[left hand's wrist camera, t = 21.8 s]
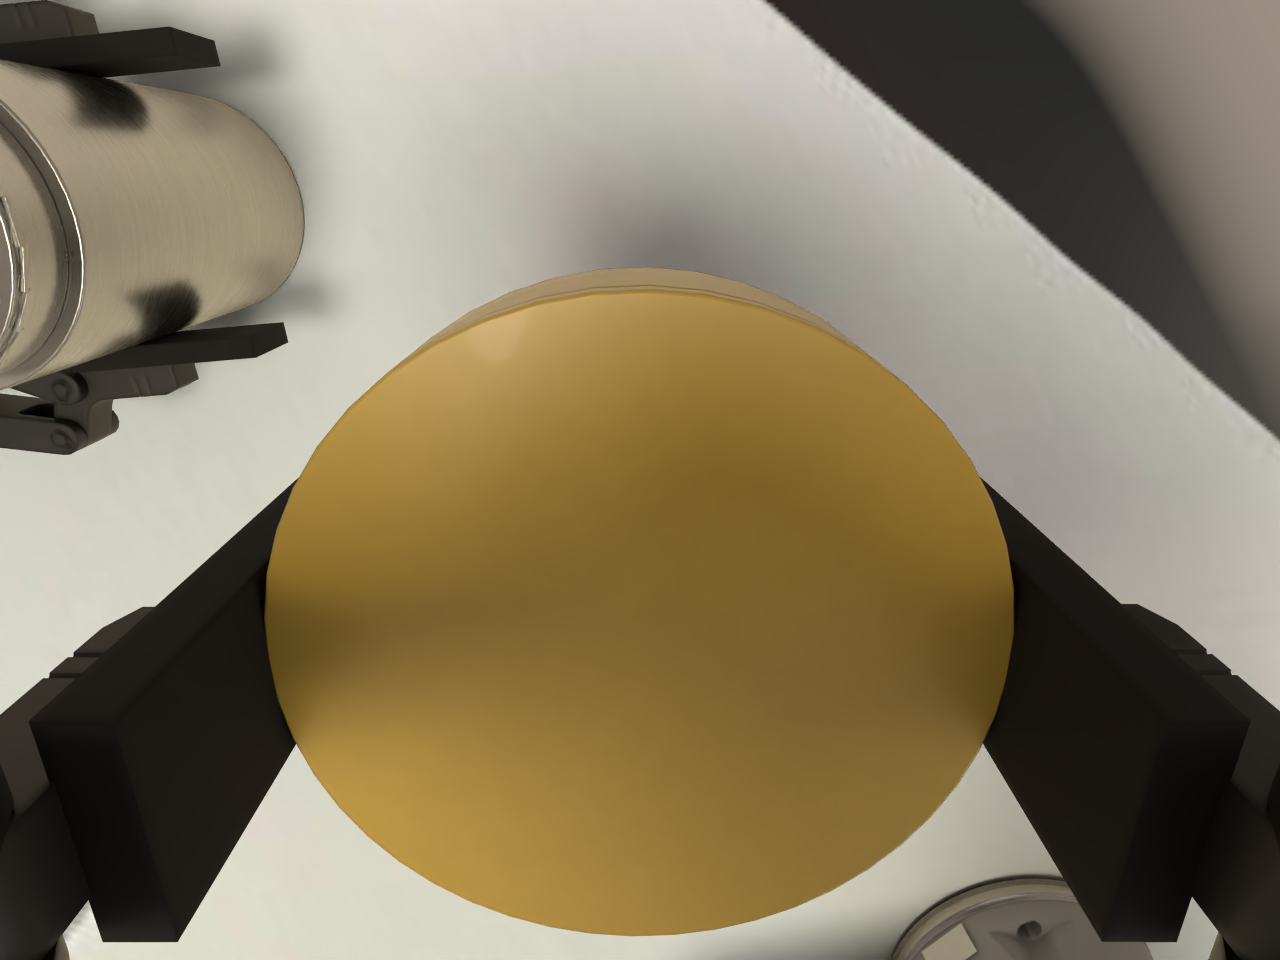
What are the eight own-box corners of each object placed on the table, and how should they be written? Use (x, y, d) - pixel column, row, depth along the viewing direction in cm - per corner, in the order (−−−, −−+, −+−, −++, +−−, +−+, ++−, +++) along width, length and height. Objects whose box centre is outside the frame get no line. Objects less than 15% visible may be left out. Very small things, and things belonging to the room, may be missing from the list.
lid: (1005, 275, 10) (1093, 298, 8) (904, 829, 14) (949, 941, 12) (285, 258, 10) (200, 279, 8) (361, 820, 14) (313, 932, 12)
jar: (129, 317, 35) (-259, 426, 20) (65, 101, 32) (-450, 35, 17) (323, 304, 35) (81, 404, 20) (278, 85, 32) (-51, 4, 17)
